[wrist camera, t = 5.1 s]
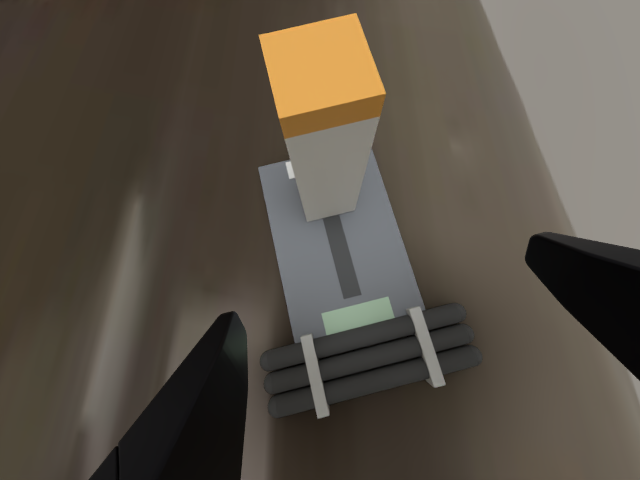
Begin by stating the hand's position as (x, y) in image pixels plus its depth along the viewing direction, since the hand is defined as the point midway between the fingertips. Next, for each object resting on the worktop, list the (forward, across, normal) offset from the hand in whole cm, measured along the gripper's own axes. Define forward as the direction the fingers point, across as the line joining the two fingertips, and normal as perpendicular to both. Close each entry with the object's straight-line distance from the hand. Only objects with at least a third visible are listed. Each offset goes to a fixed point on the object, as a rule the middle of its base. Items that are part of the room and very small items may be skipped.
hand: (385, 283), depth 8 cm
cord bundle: (+6, 0, +12) cm, 14 cm away
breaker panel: (+13, 0, +6) cm, 14 cm away
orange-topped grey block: (+15, 0, +3) cm, 15 cm away
